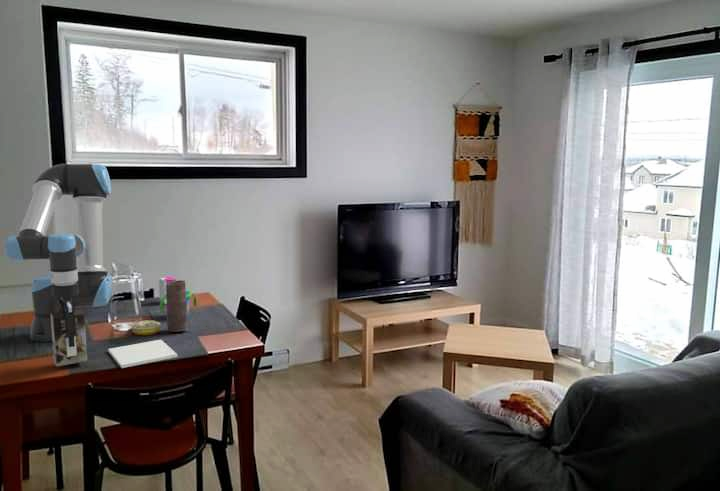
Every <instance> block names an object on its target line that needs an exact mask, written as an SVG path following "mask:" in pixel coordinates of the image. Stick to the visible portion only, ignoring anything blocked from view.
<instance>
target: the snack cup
mask: <svg viewBox="0 0 720 491" xmlns="http://www.w3.org/2000/svg"><path fill="white" fill-rule="evenodd" d="M191 297H193V298H194V299H193V306H194V307H197V305H198V300H197V297H196V294H195V293H193V292H191V291H189V290H186V308H187V317H188V316H189V314H190V304H191V299H192V298H191ZM165 299H166V300H167V298H166V294H165V296H164V297H163V298H162V299H161V301H160V300H159V310H160V312H161V313H164V304H163V301H164V300H165Z"/></svg>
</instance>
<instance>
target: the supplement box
mask: <svg viewBox="0 0 720 491" xmlns="http://www.w3.org/2000/svg"><path fill="white" fill-rule="evenodd" d="M158 281H159V282H158V285H159V286H158V287H159V288H158V289H159V293H158V294H159V302H160V301H161V299H162V298H163V297H164V296H165V294H166V284H167V283H168V282H169V281H177V279H176V278H174V277H173V276H166V277H159V278H158ZM165 305H166V306H167V300H166V299H165V300H164V301H163V306H165Z"/></svg>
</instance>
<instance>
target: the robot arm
mask: <svg viewBox="0 0 720 491" xmlns="http://www.w3.org/2000/svg"><path fill="white" fill-rule="evenodd" d="M31 191H32V194H33V195H32V197H31V201H30V202H29V205H28V208H27V211H26V213H25V216H24V217H23V218H24V219H23V222H22V223H21V227H20V230H19V232H18V234H17V235H14V236H9V237H8V238H6V240H5V243H4V244H5V245H4V250H5V255H6V256H7V257H8V259H10V260H16V261H18V260H20V261H26V260H28V261H29V260H49V269H50V271H49V272H50V273H47V274H43V275H39V276H37V277H35V278H33V279H32V281H31V296H32V310H33V320H32V324H31V325H30V326H31V327H30V331H29V339H30V340H31V341H34V342H38V343H39V342H40V343H46V342H52V328H51V313H57V312H60V313H62V315H63V316H65V327H66V336H64V338H66V348H67V357H70V356H75V355H77V349H76V336H77V333H76V322H75V310H76V309H78V308H96V307H97V308H98V307H105V306H106V305H107V304H109V302H110V300H111V297H112V296H111V295H112V291H113V277H112V275H110V274H108V270H107V269H106V268H105V267H104V250H103V249H104V248H103V246H104V244H103V243H104V242H103V241H104V240H103V239H104V238H103V237H104V236H103V235H104V234H103V232H104V231H103V228H104V226H103V204H104V203H105V202H106V201H107V196H110V195H111V194H112V185H111V178H110V175H109V171H108V170H107V167H106V166H105V165H103V164H97V163H96V164H95V163H60V164H55V165H53V166H51V167H49V168H47V169H46V170H44V171H43V172H41V173H40V174H39V176H38V177H37V178H36V179H35V181H34V183H33V185H32V190H31ZM66 195H68V196H72V200H73V201H74V202H75V203H76V205H77V207H76V208H77V209H76V210H77V212H76V213H77V214H76V216H77V220H76V221H77V223H76V224H77V233H67V232H66V233H63V232H62V233H54V234H50V235H46V233H47V231H48V228H49V225H50V222H51V218H52V216H53V213H54V211H55V207H56V204H57V202H58V201H59V200H60V199H61V198H62V196H66Z"/></svg>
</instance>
